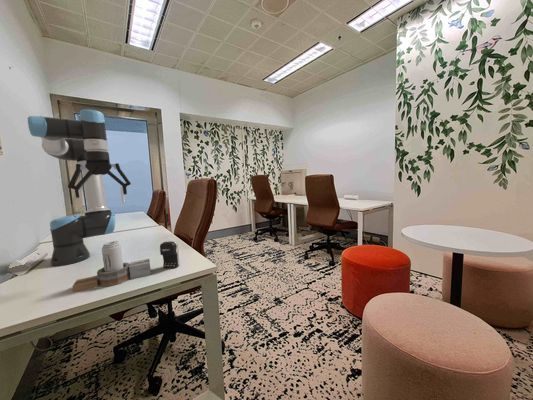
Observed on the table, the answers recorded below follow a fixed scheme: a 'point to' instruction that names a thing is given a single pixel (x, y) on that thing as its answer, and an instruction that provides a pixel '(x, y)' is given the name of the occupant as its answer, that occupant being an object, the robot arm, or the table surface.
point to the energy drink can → (112, 256)
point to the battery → (170, 254)
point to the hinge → (114, 276)
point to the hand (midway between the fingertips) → (104, 204)
